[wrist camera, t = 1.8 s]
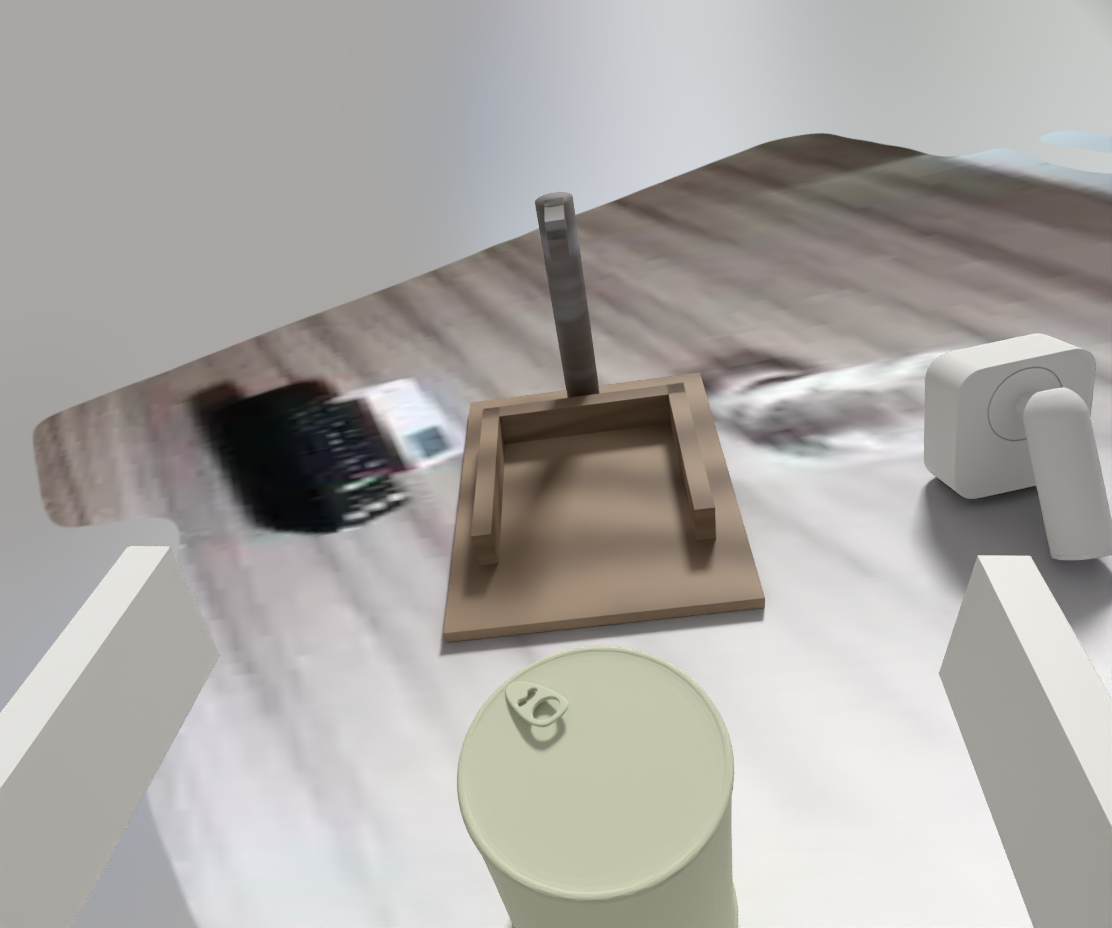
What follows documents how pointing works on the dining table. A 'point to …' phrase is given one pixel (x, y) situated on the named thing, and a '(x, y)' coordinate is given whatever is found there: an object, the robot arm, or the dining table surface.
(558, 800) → the can
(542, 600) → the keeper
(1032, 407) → the wall hook
